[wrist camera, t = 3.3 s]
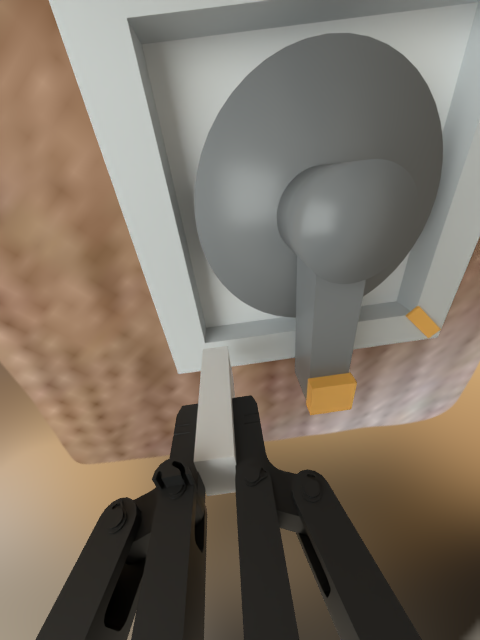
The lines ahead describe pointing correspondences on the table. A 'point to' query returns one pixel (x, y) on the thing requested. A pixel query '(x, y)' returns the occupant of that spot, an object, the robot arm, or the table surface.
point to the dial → (319, 192)
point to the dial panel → (198, 117)
